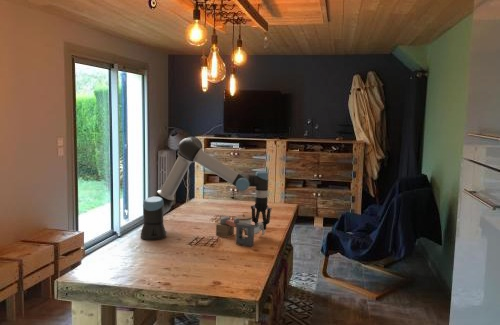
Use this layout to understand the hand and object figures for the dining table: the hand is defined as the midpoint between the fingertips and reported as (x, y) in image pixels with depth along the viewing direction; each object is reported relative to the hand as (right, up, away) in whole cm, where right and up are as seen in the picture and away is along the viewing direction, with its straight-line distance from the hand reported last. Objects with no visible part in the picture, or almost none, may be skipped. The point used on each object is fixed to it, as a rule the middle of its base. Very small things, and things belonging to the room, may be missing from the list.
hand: (260, 233), depth 274 cm
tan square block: (-22, -1, +2) cm, 22 cm away
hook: (-3, +2, -7) cm, 8 cm away
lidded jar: (-11, +1, +18) cm, 21 cm away
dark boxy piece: (-9, -3, -17) cm, 20 cm away
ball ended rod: (-18, +6, -3) cm, 20 cm away
